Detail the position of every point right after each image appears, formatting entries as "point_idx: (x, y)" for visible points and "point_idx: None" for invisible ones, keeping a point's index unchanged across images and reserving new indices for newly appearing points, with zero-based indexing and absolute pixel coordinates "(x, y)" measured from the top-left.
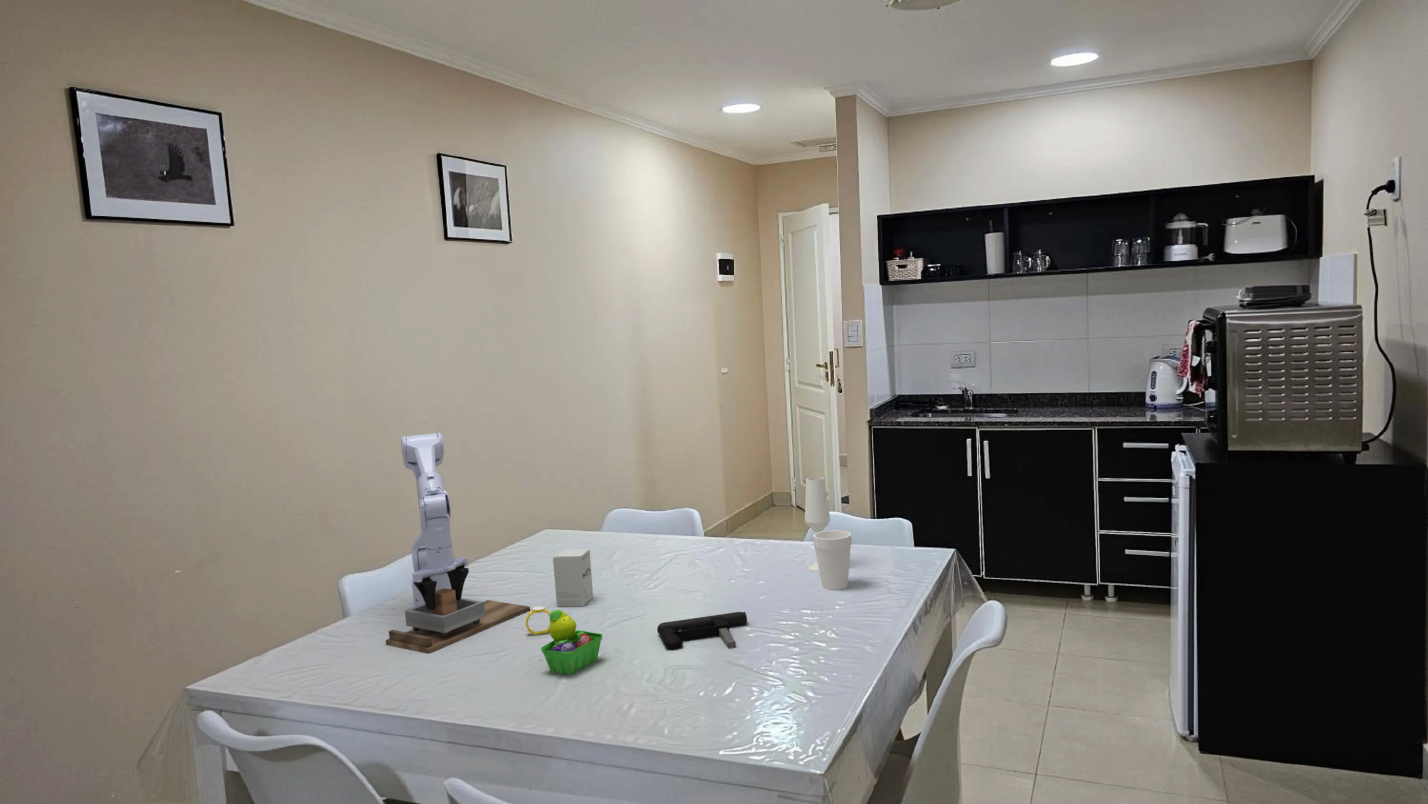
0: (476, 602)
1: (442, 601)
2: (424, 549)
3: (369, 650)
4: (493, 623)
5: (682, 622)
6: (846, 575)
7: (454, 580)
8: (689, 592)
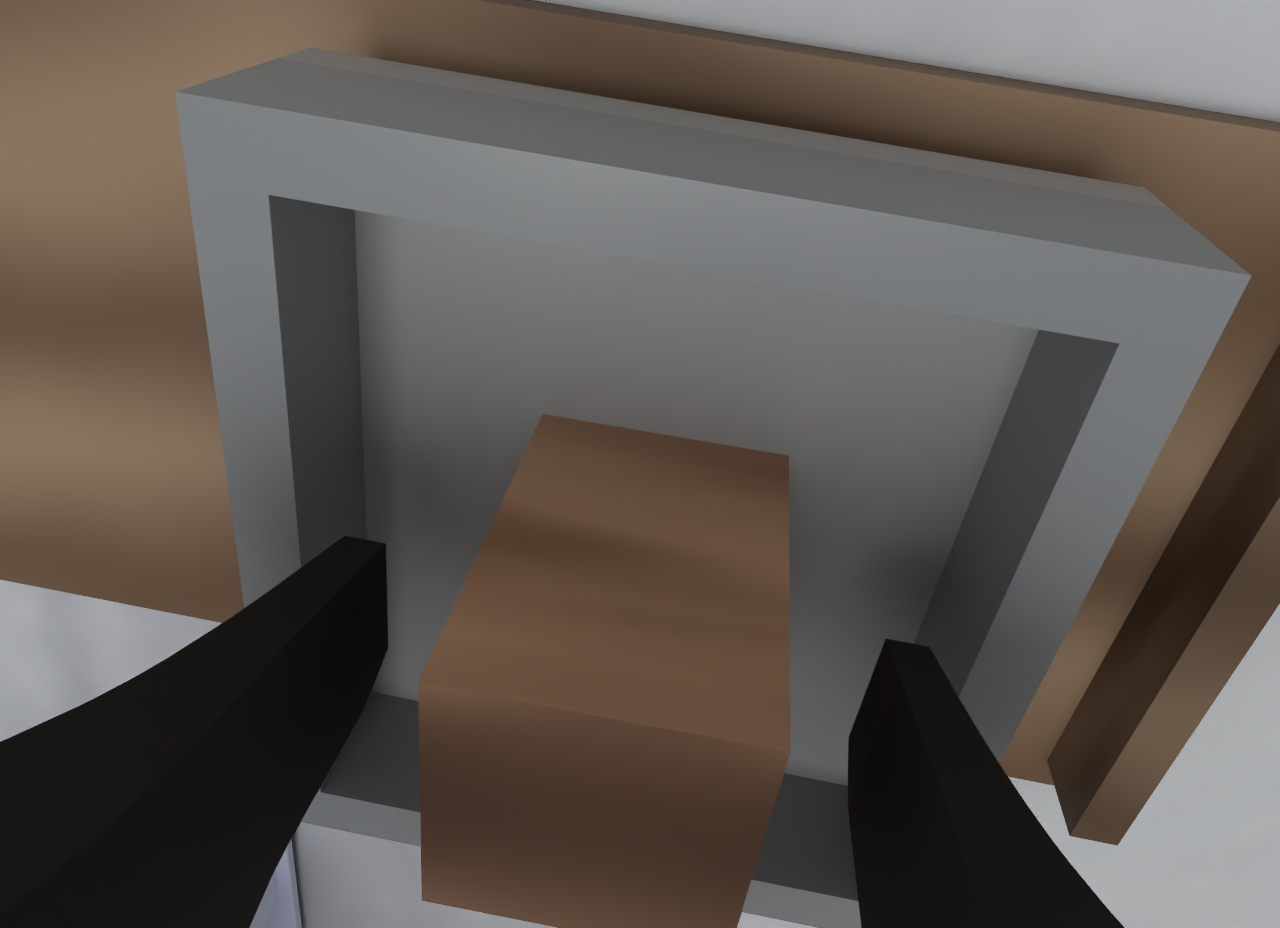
0: (273, 228)
1: (784, 646)
2: None
3: (1256, 799)
4: None
5: None
6: None
7: (211, 885)
8: None
